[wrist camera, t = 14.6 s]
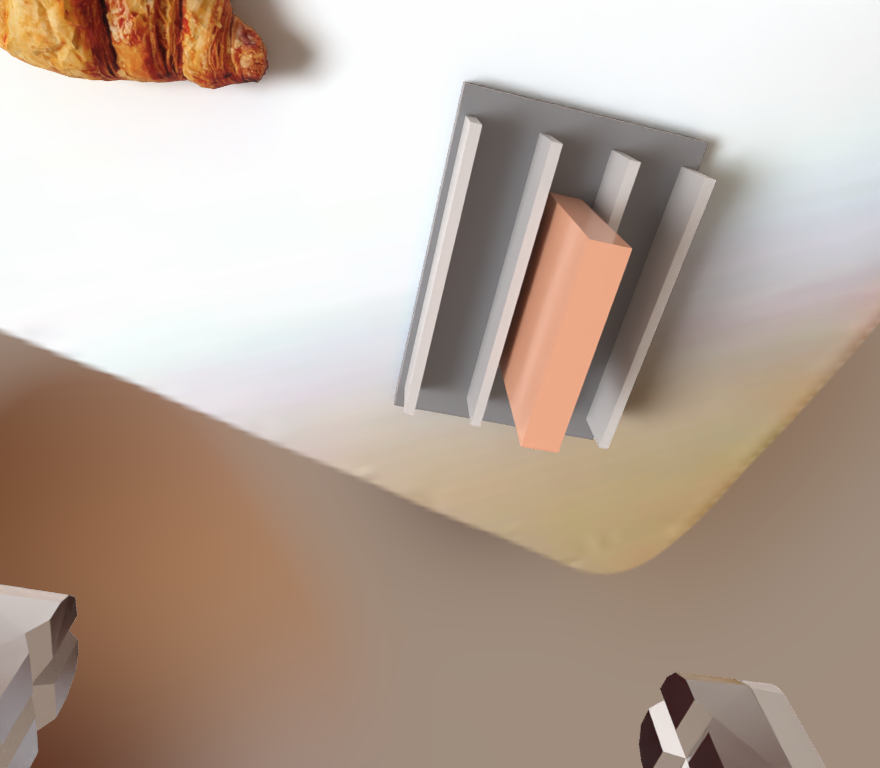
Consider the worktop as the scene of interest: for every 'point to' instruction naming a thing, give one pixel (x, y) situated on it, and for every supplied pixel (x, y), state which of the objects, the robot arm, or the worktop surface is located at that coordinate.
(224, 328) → the worktop surface
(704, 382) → the worktop surface
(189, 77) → the croissant
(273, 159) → the worktop surface
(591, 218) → the plate tile
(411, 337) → the dish rack
